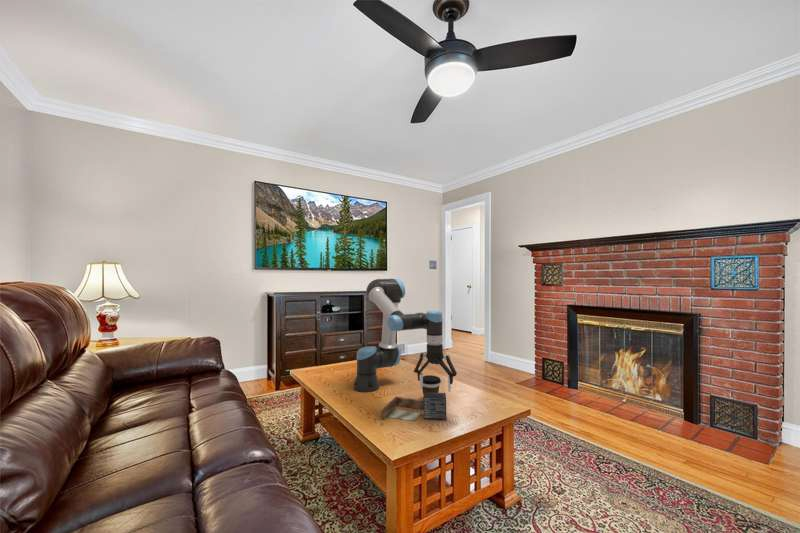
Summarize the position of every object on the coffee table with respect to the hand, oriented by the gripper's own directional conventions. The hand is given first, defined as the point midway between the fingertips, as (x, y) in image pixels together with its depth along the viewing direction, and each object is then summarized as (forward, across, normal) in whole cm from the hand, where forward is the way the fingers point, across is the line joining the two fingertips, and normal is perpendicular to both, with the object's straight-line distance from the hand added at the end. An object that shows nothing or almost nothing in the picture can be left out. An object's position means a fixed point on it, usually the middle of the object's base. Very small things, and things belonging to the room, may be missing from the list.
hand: (435, 389), depth 155 cm
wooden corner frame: (+13, -14, -2) cm, 19 cm away
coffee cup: (+13, -7, +18) cm, 23 cm away
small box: (+13, 0, 0) cm, 13 cm away
